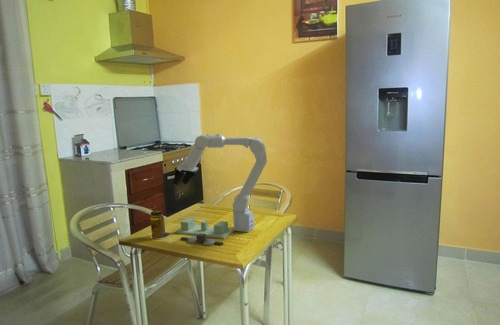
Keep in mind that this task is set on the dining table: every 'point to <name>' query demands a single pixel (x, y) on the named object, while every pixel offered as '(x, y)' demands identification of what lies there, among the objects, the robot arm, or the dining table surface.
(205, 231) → the display stand
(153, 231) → the condiment
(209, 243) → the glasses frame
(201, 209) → the dining table surface
